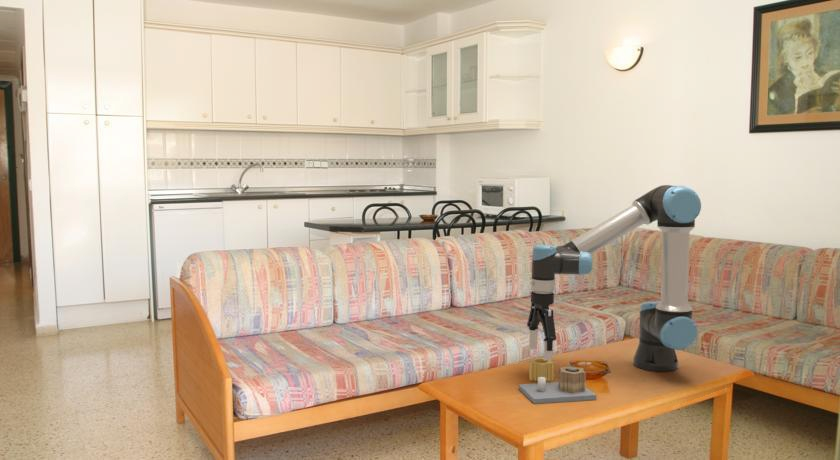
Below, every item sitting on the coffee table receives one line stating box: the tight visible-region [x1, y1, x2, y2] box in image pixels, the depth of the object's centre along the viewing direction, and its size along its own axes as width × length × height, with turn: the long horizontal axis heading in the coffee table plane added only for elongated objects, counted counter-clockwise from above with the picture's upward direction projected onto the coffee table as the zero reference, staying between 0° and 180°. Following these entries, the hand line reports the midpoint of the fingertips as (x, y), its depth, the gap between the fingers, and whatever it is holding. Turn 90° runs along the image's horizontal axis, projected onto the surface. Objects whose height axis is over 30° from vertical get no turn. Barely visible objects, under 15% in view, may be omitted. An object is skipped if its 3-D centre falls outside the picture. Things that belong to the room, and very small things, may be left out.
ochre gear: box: [528, 357, 555, 383], centre depth 229 cm, size 8×8×6 cm
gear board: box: [518, 366, 597, 405], centre depth 213 cm, size 20×14×8 cm
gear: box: [557, 365, 587, 393], centre depth 214 cm, size 8×8×6 cm
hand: (540, 354), depth 229 cm, fingers open, 13 cm apart
